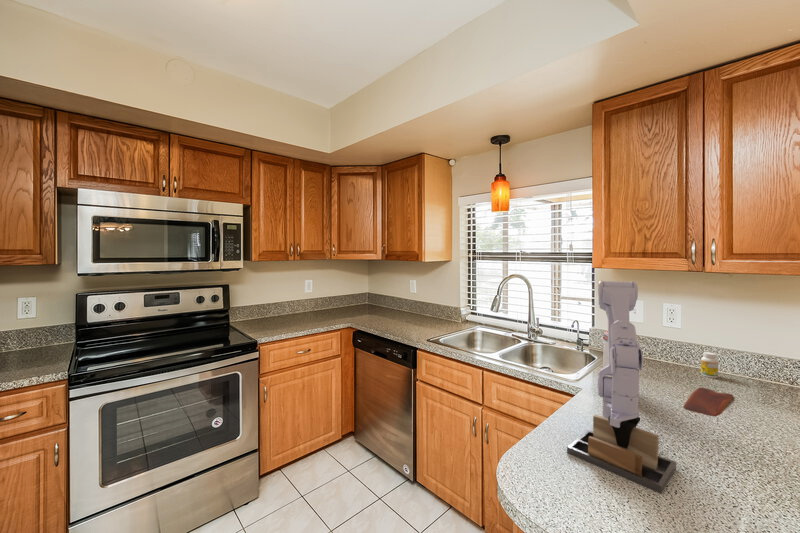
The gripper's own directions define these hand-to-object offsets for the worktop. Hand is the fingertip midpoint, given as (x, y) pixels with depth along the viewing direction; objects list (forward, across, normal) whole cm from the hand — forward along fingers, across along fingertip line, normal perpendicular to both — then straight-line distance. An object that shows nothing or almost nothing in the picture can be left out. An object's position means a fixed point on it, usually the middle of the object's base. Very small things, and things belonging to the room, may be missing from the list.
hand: (623, 445), depth 88 cm
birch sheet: (+3, 0, 0) cm, 3 cm away
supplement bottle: (+4, -92, +4) cm, 92 cm away
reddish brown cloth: (+4, -59, +8) cm, 60 cm away
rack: (+3, +3, 0) cm, 5 cm away
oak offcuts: (+3, +7, 0) cm, 7 cm away
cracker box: (+4, -47, -16) cm, 50 cm away
